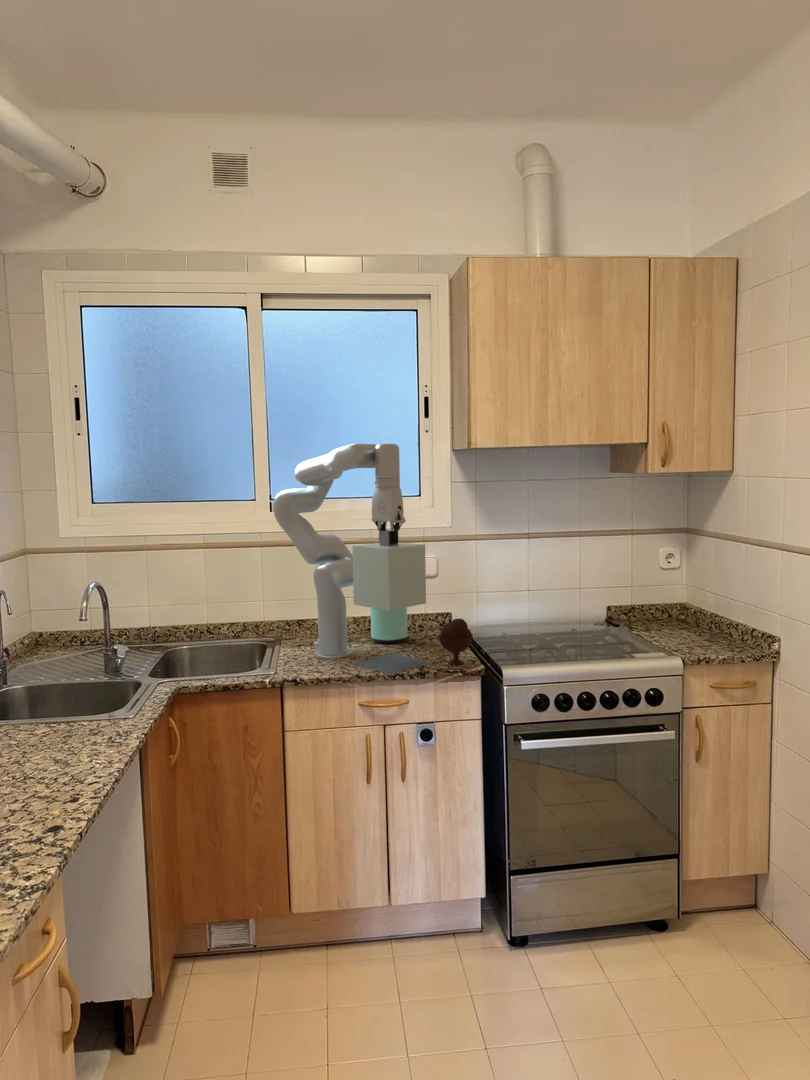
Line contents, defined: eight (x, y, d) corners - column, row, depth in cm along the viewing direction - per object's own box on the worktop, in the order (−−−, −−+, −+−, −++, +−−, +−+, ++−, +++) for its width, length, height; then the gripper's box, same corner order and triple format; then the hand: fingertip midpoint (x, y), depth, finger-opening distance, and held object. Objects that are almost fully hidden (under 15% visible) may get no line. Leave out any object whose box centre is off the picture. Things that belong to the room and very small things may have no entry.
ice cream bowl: (473, 660, 235) (472, 614, 234) (473, 670, 224) (472, 621, 223) (440, 660, 236) (439, 614, 235) (438, 669, 225) (437, 621, 224)
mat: (351, 665, 232) (351, 664, 232) (392, 654, 245) (392, 653, 245) (391, 676, 219) (391, 674, 219) (432, 664, 232) (432, 662, 232)
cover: (353, 604, 230) (352, 531, 228) (390, 597, 242) (389, 527, 239) (389, 610, 219) (387, 534, 217) (426, 603, 230) (425, 530, 228)
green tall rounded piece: (372, 636, 272) (370, 542, 269) (408, 636, 272) (406, 542, 269) (368, 649, 253) (365, 548, 250) (407, 648, 253) (405, 547, 250)
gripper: (360, 484, 230) (361, 542, 232) (398, 484, 218) (399, 546, 220) (378, 483, 235) (379, 540, 237) (415, 483, 223) (416, 543, 225)
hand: (388, 542), depth 228 cm, fingers closed on cover, 4 cm apart
